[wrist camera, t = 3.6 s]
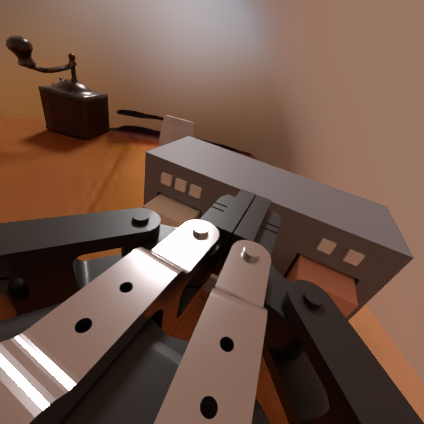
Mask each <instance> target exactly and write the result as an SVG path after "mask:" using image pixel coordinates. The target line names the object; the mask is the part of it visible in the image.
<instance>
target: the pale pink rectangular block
mask: <svg viewBox="0 0 424 424" xmlns="http://www.w3.org/2000/svg"><path fill="white" fill-rule="evenodd" d="M194 124H195V123H194V122H190V121H186V120H183V119H179V118H175V117H172V116H168V115H165V116H164V121H163V125H162V129H161V133H160V142H159V147H160V146H163V145H166V144H168V143H171V142H174V141H177V140H179V139H182V138H185V137H187V136H190V137H193V138H194Z"/></svg>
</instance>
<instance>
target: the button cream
mask: <svg viewBox="0 0 424 424" xmlns="http://www.w3.org/2000/svg"><path fill="white" fill-rule="evenodd" d="M143 208H146V209H150V210H153V211H155V212H156V213H157V214H158V215H159V216H160V218H161V222H160V224H162V225H167V226H172V227H180V226H182V225H183V224H184V223H186V222H187V221H190V220H199V219H200V218H201V215H202V210H199V209H197V208H195V207H192V206H190V205H188V204H186V203H183V202H181V201H179V200H176V199H174V198H172V197H170V196H167V195H165V194H163V193H161V194H160V195H158V196H157V197H155V198H154V199H152V200H151V201H149V202H148V203H146V204H145V205H143Z"/></svg>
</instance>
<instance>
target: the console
mask: <svg viewBox="0 0 424 424" xmlns="http://www.w3.org/2000/svg"><path fill="white" fill-rule="evenodd" d="M241 189H243V190H246V191H249V192H251V193H254V194H256V196H257V195H260V196H262V197H265V198H268V199H270V200H272V201H271V204H270V206H269V208H268V210H270V211H273V212H275V213H278V214H279V216H280V219H281V224H280V227H279V231H278V234H277V237H276V240H275V244H274V247H273V250H272V253H271V262H272V264H273V266H274V268H275V269H276V270H277V271H278V272H279V273H280V274H281V275H282V276H284V275H285V273H286V271H287V270H288V268H289V266H290V265H291V263H292V261H293V260H294V258H295V256H296V255H297V253H300V254H302V255H304V256H306V257H309V258H311V259H313V260H316V261H318V262H320V263H322V264H325V265H327V266H329V267H331V268H334V269H336V270H338V271H341V272H343V273H345V274H347V275H350V276H352V277H354V282H355V288H356V295H357V301H358V307H357V308H356V309H355V310H353V311H352V312H351V313H350V314H349V315H348V316H347V317H346V319H347V320H349V319H350V318H351V317H352V316H353V315H355V314H356V313H357V312H358V311H359V310H360V309H361V308H362V307H363V306H364V305H365V304H366V303H367V302H368V301H369V300H370V299H371V298H372V297H373V296H374V295H375V294H376V293H377V292H378V291H380V289H382V288H383V287H384V286H385V285H386V284H387V283H388V282H389V281H390V280H391V279H392V278H393V277H394V276H395V275H396V274H397V273H398V272H399V271H400V270H401V269H402V268H403V267H405V266H406V265H407V264H408V263H409V262H410V261H411V260H412V259H413V256H412V254H411V252H410V250H409V248H408V246H407V244H406V242H405V241H404V239H403V237H402V235H401V233H400V231H399V229H398V227H397V225H396V223H395V221H394V219H393V218H392V216H391V214H390V212H389V210H388V208H387V207H386V206H384V205H381V204H378V203H375V202H372V201H370V200H367V199H364V198H361V197H358V196H355V195H353V194H350V193H347V192H344V191H341V190H339V189H336V188H333V187H330V186H327V185H324V184H322V183H319V182H316V181H313V180H311V179H308V178H305V177H302V176H300V175H297V174H294V173H291V172H288V171H286V170H282V169H280V168H277V167H274V166H271V165H269V164H266V163H263V162H260V161H258V160H255V159H252V158H249V157H246V156H243V155H241V154H238V153H235V152H232V151H229V150H227V149H224V148H221V147H218V146H215V145H213V144H210V143H207V142H204V141H201V140H199V139H196V138H193V137H190V136H187V137H185V138H182V139H179V140H177V141H174V142H171V143H168V144H166V145H163V146H160V147H158V148H155V149H152V150H150V151H147V152H146V162H145V187H144V205H145V204H146V203H148V202H149V201H151V200H152V199H154V198H155V197H157V196H158V195H160V194H161V193H163V194H165V195H167V196H170V197H172V198H174V199H176V200H179V201H181V202H183V203H186V204H188V205H190V206H192V207H195V208H197V209H199V210H202V215H201V217H202V216H203V215H204V214H205V213H206V212H207V211H208V210H209V209H210V208H211V207H212V205H213V204H214V203H216V201H217V200H218V199H219V198H220V197H222V196H225V195H228V194H229V195H231V196H234V197H236V196H237V194H238V193H239V192H240V191H241ZM216 283H217V280H216V279H214V278H212V277H210V278H209V279H208V281H207V282H206V285H205V287H204V289H203V291H205V292H207V293H208V294H210V293H211V291H212V289H213V287H214V286H215V285H216Z"/></svg>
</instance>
